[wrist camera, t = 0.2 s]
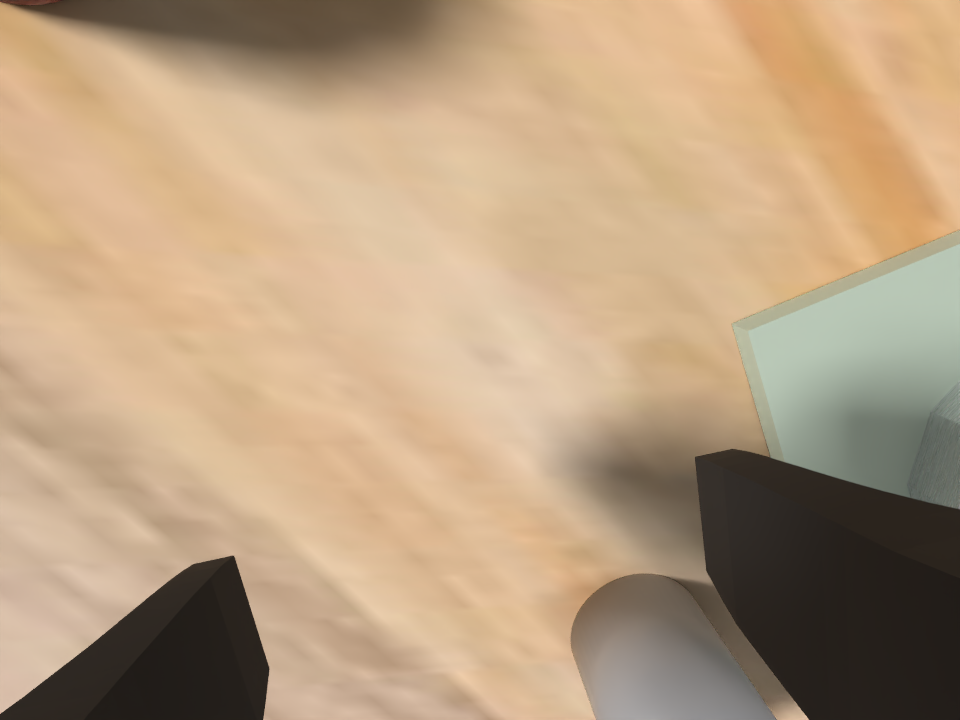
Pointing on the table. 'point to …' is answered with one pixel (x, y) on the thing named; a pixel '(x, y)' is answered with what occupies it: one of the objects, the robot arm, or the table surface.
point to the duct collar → (939, 455)
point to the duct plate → (858, 366)
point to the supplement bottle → (29, 2)
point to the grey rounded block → (657, 656)
